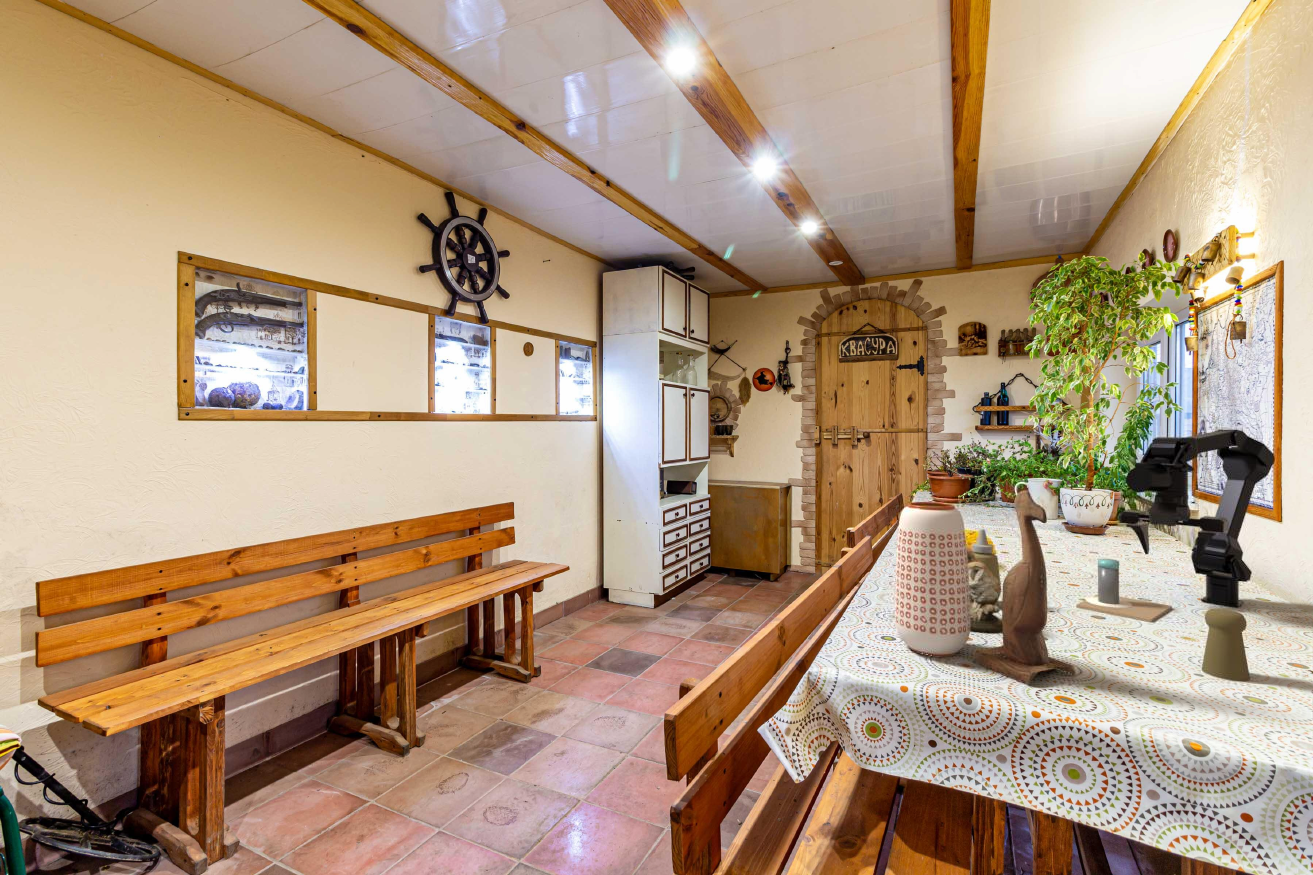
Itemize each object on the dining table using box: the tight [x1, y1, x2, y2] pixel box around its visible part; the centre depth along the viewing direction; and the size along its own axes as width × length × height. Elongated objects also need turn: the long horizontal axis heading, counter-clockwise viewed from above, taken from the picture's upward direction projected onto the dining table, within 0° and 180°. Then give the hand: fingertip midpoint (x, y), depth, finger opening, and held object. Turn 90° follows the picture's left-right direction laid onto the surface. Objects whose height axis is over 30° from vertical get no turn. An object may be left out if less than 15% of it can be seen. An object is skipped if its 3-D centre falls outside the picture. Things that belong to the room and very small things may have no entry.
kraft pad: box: [1075, 594, 1173, 623], centre depth 140 cm, size 16×14×1 cm
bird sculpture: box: [972, 489, 1077, 686], centre depth 104 cm, size 11×12×32 cm
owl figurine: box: [967, 546, 1003, 634], centre depth 132 cm, size 18×12×17 cm, turn 36°
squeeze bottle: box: [971, 529, 1002, 606], centre depth 144 cm, size 8×8×18 cm
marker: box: [1097, 558, 1120, 604], centre depth 142 cm, size 4×4×10 cm
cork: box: [1201, 608, 1251, 682], centre depth 102 cm, size 6×6×11 cm
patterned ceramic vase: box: [894, 501, 971, 658], centre depth 115 cm, size 13×13×28 cm
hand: (1171, 557), depth 139 cm, fingers open, 9 cm apart
